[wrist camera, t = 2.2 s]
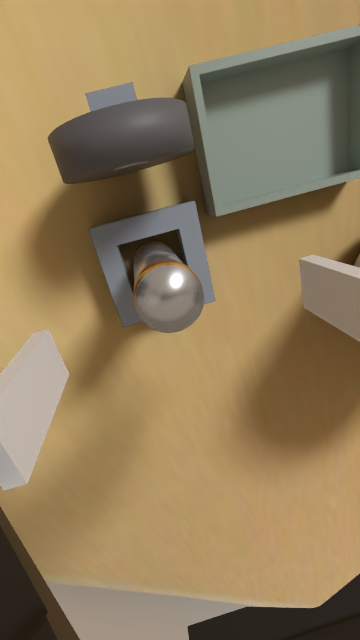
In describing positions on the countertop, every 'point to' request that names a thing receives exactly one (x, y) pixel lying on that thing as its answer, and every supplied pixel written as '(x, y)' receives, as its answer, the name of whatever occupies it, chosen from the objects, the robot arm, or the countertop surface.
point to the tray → (276, 120)
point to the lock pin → (165, 289)
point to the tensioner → (125, 157)
